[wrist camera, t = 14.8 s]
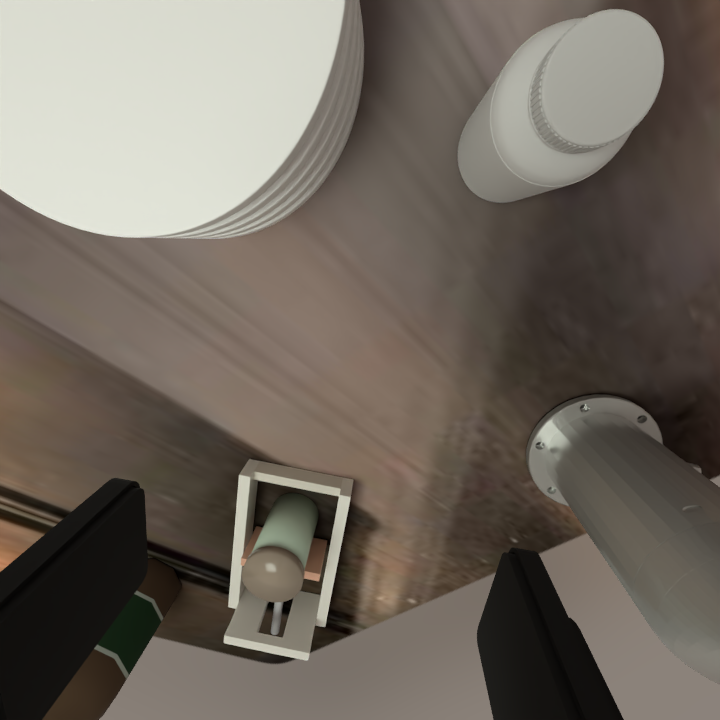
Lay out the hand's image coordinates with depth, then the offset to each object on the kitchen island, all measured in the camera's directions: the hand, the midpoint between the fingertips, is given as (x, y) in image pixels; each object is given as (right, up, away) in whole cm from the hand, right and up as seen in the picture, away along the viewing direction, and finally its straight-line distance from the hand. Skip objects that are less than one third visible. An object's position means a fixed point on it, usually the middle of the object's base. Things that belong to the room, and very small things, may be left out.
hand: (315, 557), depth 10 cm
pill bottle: (+13, +22, +21) cm, 34 cm away
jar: (-6, -13, +34) cm, 37 cm away
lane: (-7, -16, +35) cm, 39 cm away
